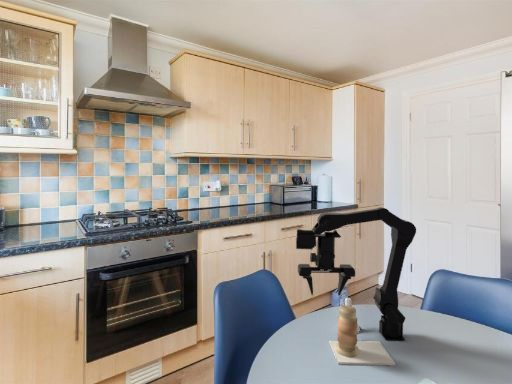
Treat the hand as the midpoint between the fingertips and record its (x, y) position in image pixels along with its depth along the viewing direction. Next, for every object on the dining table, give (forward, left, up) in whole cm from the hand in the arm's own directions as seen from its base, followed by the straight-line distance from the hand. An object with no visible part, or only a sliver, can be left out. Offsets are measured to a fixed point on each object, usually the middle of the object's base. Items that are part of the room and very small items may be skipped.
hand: (325, 294), depth 107 cm
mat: (-8, +13, -13) cm, 20 cm away
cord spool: (-4, +13, -12) cm, 18 cm away
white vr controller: (-9, -3, -13) cm, 16 cm away
